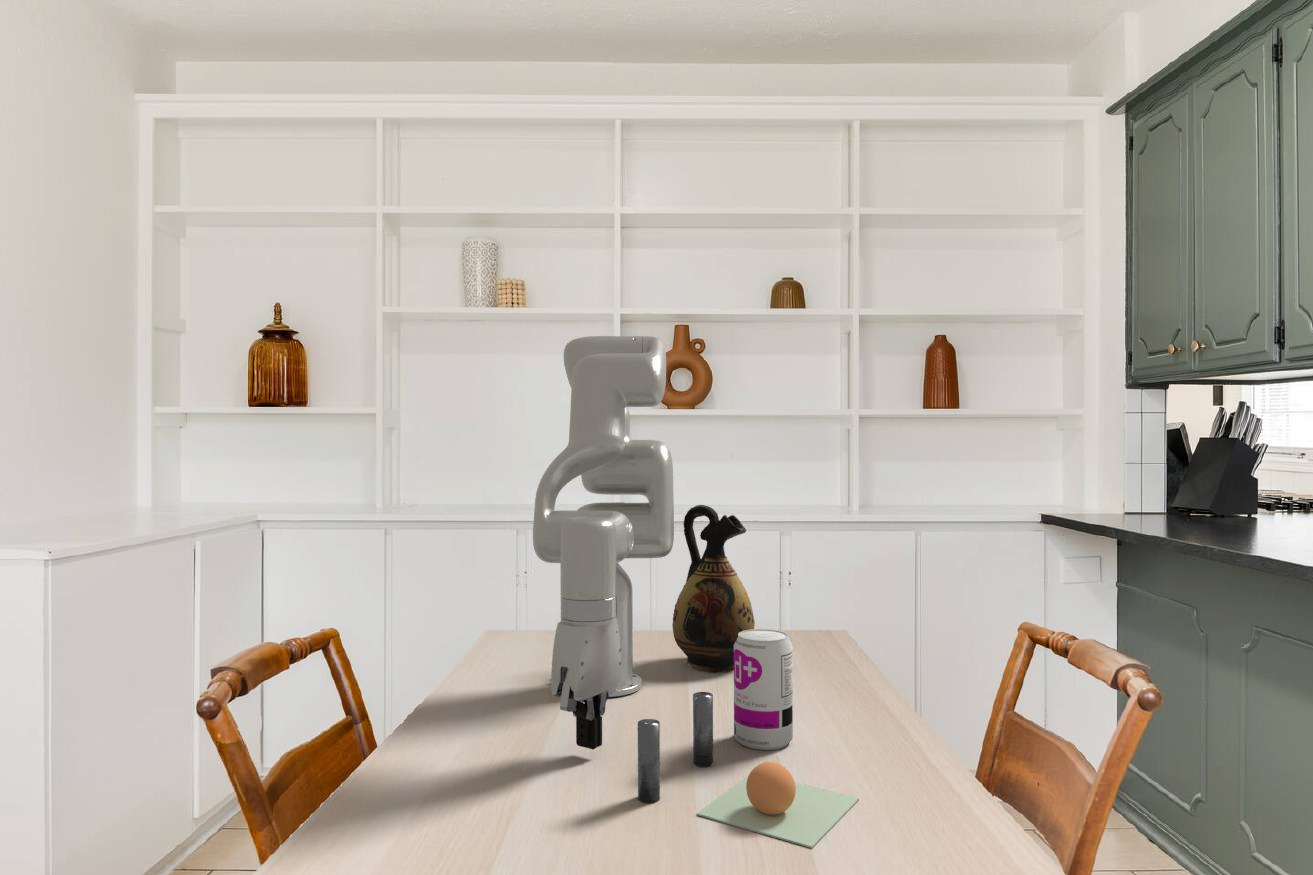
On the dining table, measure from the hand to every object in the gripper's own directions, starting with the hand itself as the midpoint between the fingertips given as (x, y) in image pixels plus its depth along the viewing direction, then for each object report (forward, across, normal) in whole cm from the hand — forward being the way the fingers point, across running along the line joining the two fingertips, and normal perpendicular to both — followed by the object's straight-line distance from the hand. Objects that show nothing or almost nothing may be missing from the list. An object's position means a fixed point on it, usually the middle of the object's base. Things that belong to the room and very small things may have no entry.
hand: (589, 745), depth 112 cm
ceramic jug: (+2, -48, -9) cm, 49 cm away
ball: (-1, +2, +28) cm, 28 cm away
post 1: (+2, +6, +14) cm, 15 cm away
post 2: (+2, -6, +14) cm, 15 cm away
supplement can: (+2, -18, +17) cm, 25 cm away
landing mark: (+2, 0, +28) cm, 28 cm away
